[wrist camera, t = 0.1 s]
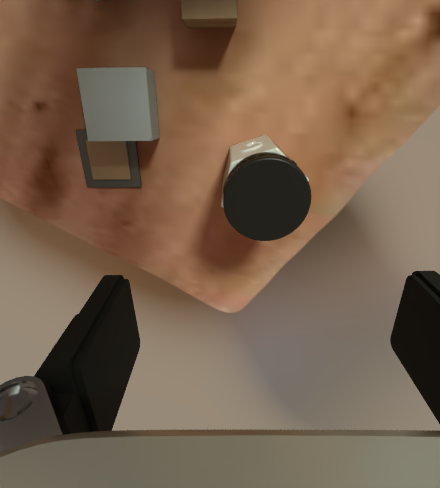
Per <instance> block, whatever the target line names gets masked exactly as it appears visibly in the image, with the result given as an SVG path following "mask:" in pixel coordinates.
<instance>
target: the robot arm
mask: <svg viewBox="0 0 440 488" xmlns="http://www.w3.org/2000/svg"><path fill="white" fill-rule="evenodd" d="M391 346H392V348H393V350H394V352H395V353H396V355H397V357H398V358H399V360H400V361H401V363H402V365H403V366H404V368H405V369H406V371H407V372H408V374H409V376H410V377H411V379H412V381H413V382H414V384H415V385H416V387H417V389H418V390H419V392H420V393H421V395H422V396H423V398H424V400H425V401H426V403H427V404H428V406H429V408H430V409H431V411H432V412H433V414H434V416H435V417H436V419H437V420H438V422H439V424H440V275H439V274H438V273H437V272H435V271H415V272H413V273H412V275H411V276H408V277H407V279H406V282H405V286H404V290H403V294H402V297H401V301H400V304H399V308H398V312H397V316H396V319H395V323H394V327H393V331H392V335H391ZM139 348H140V337H139V332H138V326H137V322H136V316H135V311H134V305H133V300H132V294H131V289H130V284H129V280H128V279H124V278H123V276H122V275H105V276H104V277H103V278H102V280H101V281H100V282H99V284H98V286H97V287H96V289H95V290H94V292H93V293H92V295H91V296H90V298H89V299H88V301H87V302H86V304H85V305H84V307H83V308H82V310H81V311H80V313H79V314H77V315H76V316H75V317H74V318H73V319H72V321H71V322H70V324H69V325H68V327H67V328H66V330H65V331H64V333H63V334H62V336H61V337H60V339H59V340H58V342H57V344H55V346H54V348H53V349H52V351H51V352H50V353H49V355H48V356H47V358H46V360H45V361H44V362H43V364H42V365H41V367H40V368H39V370H38V371H37V373H36V374H35V376H23V377H17V378H14V379H12V380H9V381H6V382H5V383H3V384H1V385H0V488H440V431H417V430H416V431H415V430H127V431H112V428H113V425H114V422H115V419H116V416H117V413H118V410H119V407H120V404H121V401H122V398H123V395H124V393H125V390H126V387H127V384H128V381H129V378H130V375H131V372H132V369H133V366H134V363H135V360H136V357H137V354H138V351H139Z"/></svg>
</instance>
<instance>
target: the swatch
mask: <svg viewBox="0 0 440 488" xmlns="http://www.w3.org/2000/svg"><path fill="white" fill-rule="evenodd" d="M76 135H77V140H78V144H79V149H80V154H81V159H82V164H83V169H84V174H85V179H86V184H87V187H142V185H141V177H140V169H139V161H138V153H137V145H136V141H88V137H87V131H86V130H76Z"/></svg>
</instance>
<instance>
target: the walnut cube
mask: <svg viewBox="0 0 440 488" xmlns="http://www.w3.org/2000/svg"><path fill="white" fill-rule="evenodd" d="M181 11H182V20H183V21H184V23H185V24H186V26H187V27H188V28H216V27H236V20H237V0H181Z"/></svg>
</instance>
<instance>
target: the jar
mask: <svg viewBox="0 0 440 488" xmlns="http://www.w3.org/2000/svg"><path fill="white" fill-rule="evenodd" d="M310 204H311V189H310V185H309V179H308V177H307V176H306V175H305V174H304V173H303V172H302V170H301V169H300V168H299V167H298V166H297V164H296V163H295V162H294V161H293V160H292V159H291V158H290V157H289V156H288V155H287V154H286V153H285V152H284V151H283V150H282V149H281V148H280V147H279V146H278V145H277V144H276V143H275V142H274V141H273V140H272V139H271V138H270V137H269V136H268V135H263V136H260V137H257V138H254V139H251V140H248V141H245V142H242V143H239V144H236V145H233V146H231V147H230V150H229V154H228V159H227V163H226V168H225V173H224V177H223V184H222V199H221V206H222V207H223V208H224V212H225V215H226V217H227V219H228V221H229V223H230V224H231V225H232V227H233V228H234V229H235V230H236V231H238V232H239V233H240V234H242V235H244V236H245V237H248V238H250V239H254V240H259V241H271V240H276V239H279V238H282V237H285V236H287V235H288V234H290V233H292V232H293V231H294V230H296V229H297V228H298V227H299V226H300V224H301V223H302V222H303V221H304V219H305V217H306V216H307V214H308V211H309V208H310Z"/></svg>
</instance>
